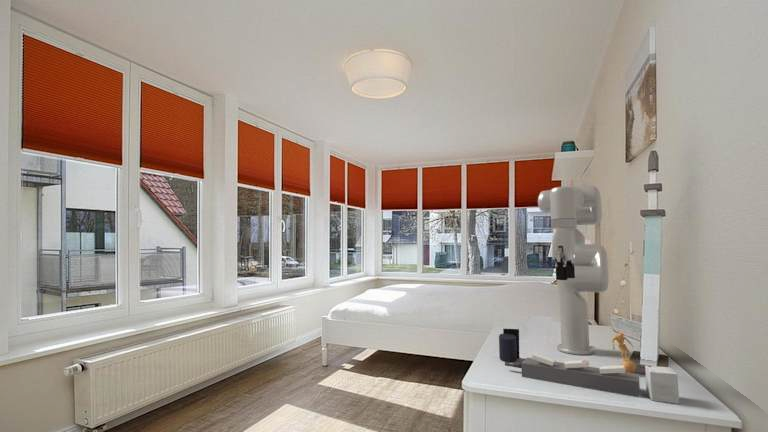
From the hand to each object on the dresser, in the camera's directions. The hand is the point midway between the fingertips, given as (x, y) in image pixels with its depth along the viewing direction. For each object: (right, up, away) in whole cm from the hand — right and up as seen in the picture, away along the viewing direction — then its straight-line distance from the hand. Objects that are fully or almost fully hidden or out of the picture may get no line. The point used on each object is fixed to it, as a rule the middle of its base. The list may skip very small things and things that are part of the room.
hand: (565, 278), depth 126 cm
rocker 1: (-10, -23, -7) cm, 26 cm away
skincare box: (+14, -28, -23) cm, 39 cm away
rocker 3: (+5, -22, -17) cm, 28 cm away
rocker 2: (-2, -23, -12) cm, 26 cm away
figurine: (+17, -29, -3) cm, 34 cm away
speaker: (-14, -30, +11) cm, 35 cm away
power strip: (-4, -28, -10) cm, 30 cm away
